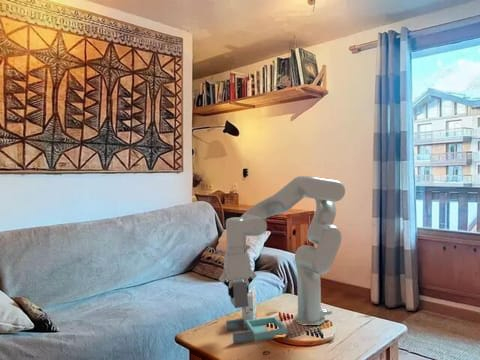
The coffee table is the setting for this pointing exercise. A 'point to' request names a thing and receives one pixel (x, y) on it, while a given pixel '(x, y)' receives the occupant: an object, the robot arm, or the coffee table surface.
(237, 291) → the grey upright block
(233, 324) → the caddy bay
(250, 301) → the ink cartridge box
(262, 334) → the tray
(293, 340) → the coffee table surface
